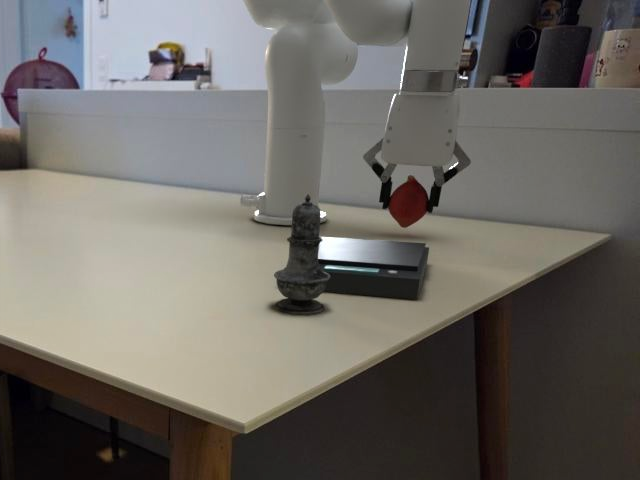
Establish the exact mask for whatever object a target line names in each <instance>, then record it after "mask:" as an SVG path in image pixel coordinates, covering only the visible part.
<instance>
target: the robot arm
mask: <svg viewBox="0 0 640 480" xmlns="http://www.w3.org/2000/svg"><path fill="white" fill-rule="evenodd" d="M471 1H472V0H243V3H244V5H245V7H246V9H247V11H248V13H249V15H250V17H251V20H253V22H254V24H256V25H257V26H258V27H260V28H263V29H266V30H276V31H275V32H274V33H273V35H272V36H271V37H270V39H269V41H268V43H267V46H266V48H265V49H266V50H265V56H264V69H265V77H266V86H267V121H266V122H267V125H266V129H267V130H266V147H265V164H264V166H265V167H264V183H263V184H264V185H263V192H261V193H259V194H258V195H250V194H249V195H248V194H241V196H240V200H239V202H240V203H239V204H240V206H241V207H246V208H251V207H253V208H256V209H258V210H256V211H255V212H253V220H255V221H256V222H259V223H262V224H268V225H275V226H292V214H293V210H294V208H295V207H296V206H298V205H300V204H302V203H303V202H305V201H306V200H305V199H304V198H306V196H307V195H308V194H309V196H310V198H311V199H310V202H311V203H312V204H314V205H316V206H318V207H319V202H320V201H319V200H320V188H321V178H322V177H321V175H322V165H323V151H324V139H325V129H326V128H325V126H326V125H325V124H326V101H325V95H324V91H323V87H322V86H332V85H336V84H340V83H342V82H343V81H345V80H347V78H348V77H350V75H351V74H352V72H353V71H354V70H355V67H356V65H357V61H358V55H359V49H358V48H359V47H358V45H360V46H369V47H370V46H372V47H388V48H396V47H405V46H406V47H405V55H404V61H403V68H402V74H401V81H400V82H401V83H400V88H399V93H394V95H393V97H392V101H391V103H390V104H391V105H390V107H389V112H388V115H387V118H386V124H385V129H384V132H383V137H382V138H381V139H380V140H379V141H378V142H377V143H375V144H374V145H373V146H372V147H371V148H370V149H369V150H367V151H366V152H365V153H364V154H363V155H362V159H363V160H364V162H365V163H366V164H367V165H368V166H369V167H370V168H371V170H372V171H373V172H374V174H375V175H376V176H377V177H378V179H379V181H380V183H381V184H380V185H381V186H380V191H379V199H378V203H382V207H381V208H382V210H387V209H388V203H389V199H390V197H391V195H392V189H393V183H394V182H393V179H392V178H393V177H392V175H393V173H394V172H395V170H396V167H397V166H398V165H399V166H400V165H401V166H417V167H431V168H432V174H433V177H434V181H433V184H431V187H430V192H429V197H428V198H429V203H428V209H427V212H426V213H428V214H432V213H433V211H434V208H439V204H440V201H441V200H440V199H441V194H442V189H443V186H444V185H445V184H446V183H448V182H449V181H451V180H452V179H453V178H454V177H456V176H457V175H458V174H459V173H461V172H462V171H463V170H465V169H466V168H467V167H469V166H470V165H471V163H472V160H471V158H470V157H469V155H468V154H467V153H466V152H465V150H464V149H463V148H462V147H461V145H460V144H459V143H458V141H457V136H458V127H459V120H460V108H461V107H460V106H461V105H460V104H461V103H460V102H461V101H460V95H459V94H456V93H455V91H456V89H459V88H461V87H467V85H468V81H469V76H463V74H462V75H461V74H460V73H459V70H460V64H461V58H462V54H463V48H464V42H465V38H466V37H465V36H466V30H467V26H468V25H467V24H468V20H469V16H470V15H469V14H470V9H471ZM378 153H380V158H381V160H382V161H383V162H384V163H386V166H385V167H384V166H383V165H382V163H380V161H378V159H377V158H376V156H377V154H378ZM454 156H455V158H456V160H457V163H455V164H454V165H453V166H451V167H450V168H448V169H447V170H446V171H445V172H444V167H445V166H447V165H449V164H450V163H451V161H452V159H453V157H454ZM326 221H327V214H326V212H324V211H321V218H320V224H322V223H324V222H326Z"/></svg>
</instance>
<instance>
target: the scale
mask: <svg viewBox="0 0 640 480" xmlns="http://www.w3.org/2000/svg"><path fill="white" fill-rule="evenodd" d="M319 237H320V238H321V239H322V242H320V243H319V251H318V264H319V268H320V270H321V271H323V272H326V273H328V274H329V275H330V279H329V280H327V284H326V287H325V289H324V291H323V292H326V293H336V294H337V293H338V294H349V295H358V296H359V295H360V296H361V295H362V296H369V297H370V296H372V297H381V298H393V299H406V300H418V298H419V295H420V291H421V289H422V284H423V280H424V277H425V273H426V271H427V270H426V269H427V266H428V259H429V253H430V246H426V245H427V244H426V242H413V241H411V242H410V241H399V240H398V241H397V240H396V241H395V240H381V239H367V238H366V239H365V238H364V239H363V238H350V237H348V238H347V237H332V236H319Z"/></svg>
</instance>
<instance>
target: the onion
mask: <svg viewBox="0 0 640 480" xmlns="http://www.w3.org/2000/svg"><path fill="white" fill-rule="evenodd" d="M429 198H430V197H429V195H428V192H427V190H426V189H425V187H424V186H423V185H422V183H420V182H419V181H418V179H416V177H415V176H414V175H412V174H410V175H408V176H407V179H406V181H405V182H403V183H402V184H400V185H398V186H397V187H396V188H395V189H394V191H393V192H391V196H390V199H389V203H388V208H387V209H388V212H389V214H390V216H391V217H392V218H393V219H394V220H395V222H396V223H397V224H398V225H399V226H400V227H401V228H403V229H406V228H408V227H410V226H412V225H414V224H416V223H417V222H419V221H420V220H421V219H422V218H424V216H425V215H426V213H428V212H427V209H428V203H429Z"/></svg>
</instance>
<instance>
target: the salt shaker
mask: <svg viewBox="0 0 640 480" xmlns="http://www.w3.org/2000/svg"><path fill="white" fill-rule="evenodd" d="M304 199H305V200H306V201H305V202H303V203H302V204H300V205H298V206H296V207H295V208H294V210H293V214H292V225H291V231H290V236H289V237H287V239H286V241H287V242H289V247H288V248H289V249H288V258H287V263H286V266H285V267H283V268H282V269H279V270H277V271H275V272H274V274H273V277H274V278H275V279H276V286H277V289H278V291H279V292H280V294H282V296H283V297H285V298H282V299H280V300H279V301H277V302H276V303H274V308H275V309H276V310H277V311H280V312H281V313H282V312H283V313H285V314H286V313H287V314H293V315H314V314H319V313H322V312H324V311H325V305H324V304H322V303H321V301H318V300H316V299H317V298H318V297H320V296H321V295H322V294H323V293H324V292H325V291H324V289H325V287H326V284H327V280H329V279H330V275H329V274H328V273H326V272H323V271H321V270H320V268H319V264H318V251H319V243H320V242H322V239H321V238H320V237H321V236H320V230H321V229H320V228H321V223H320V218H321V209H320V207H319V205H318V206H316V205H314V204H312V203H311V202H310V199H311V198H310V196H309V194H308V195H307V196H306V198H304Z"/></svg>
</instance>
